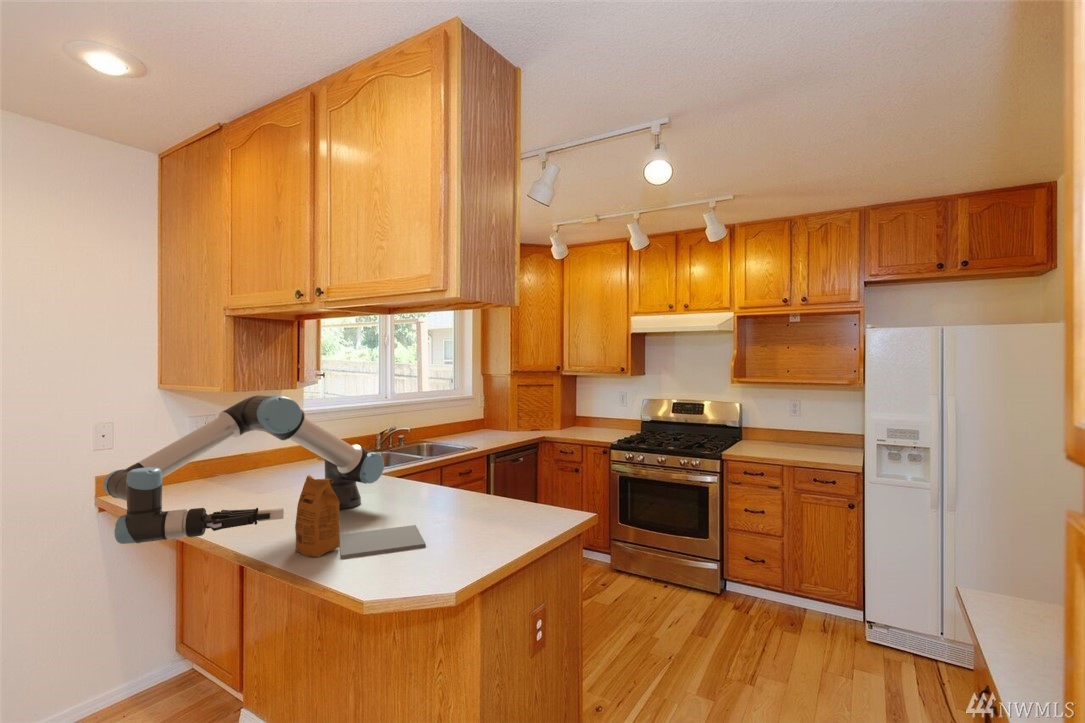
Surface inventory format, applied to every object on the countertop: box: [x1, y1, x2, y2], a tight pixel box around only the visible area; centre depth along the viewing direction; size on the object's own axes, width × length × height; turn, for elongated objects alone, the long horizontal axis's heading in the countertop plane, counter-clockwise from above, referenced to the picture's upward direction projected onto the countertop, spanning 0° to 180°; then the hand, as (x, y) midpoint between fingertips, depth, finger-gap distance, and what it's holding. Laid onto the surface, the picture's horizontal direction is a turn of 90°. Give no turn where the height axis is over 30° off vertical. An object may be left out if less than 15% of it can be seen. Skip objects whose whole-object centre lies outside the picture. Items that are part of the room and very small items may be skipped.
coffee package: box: [294, 474, 341, 558], centre depth 154 cm, size 10×12×22 cm
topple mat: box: [339, 524, 427, 559], centre depth 161 cm, size 20×24×1 cm
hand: (283, 513), depth 151 cm, fingers closed
